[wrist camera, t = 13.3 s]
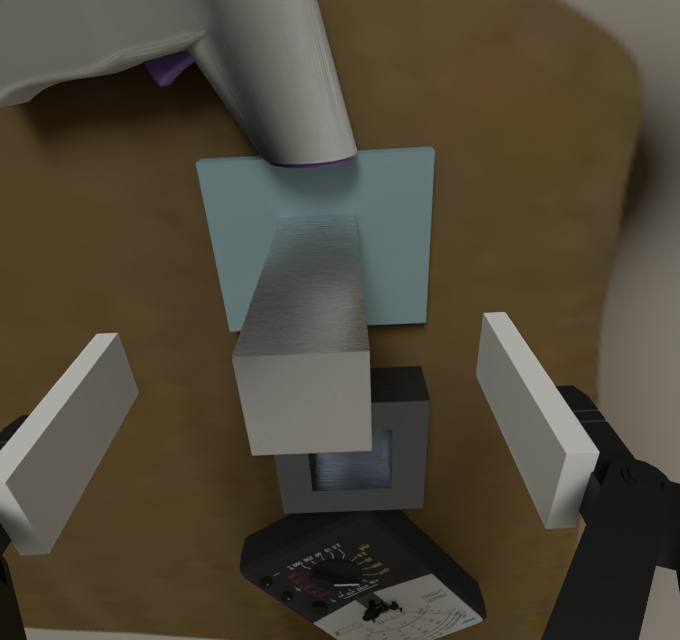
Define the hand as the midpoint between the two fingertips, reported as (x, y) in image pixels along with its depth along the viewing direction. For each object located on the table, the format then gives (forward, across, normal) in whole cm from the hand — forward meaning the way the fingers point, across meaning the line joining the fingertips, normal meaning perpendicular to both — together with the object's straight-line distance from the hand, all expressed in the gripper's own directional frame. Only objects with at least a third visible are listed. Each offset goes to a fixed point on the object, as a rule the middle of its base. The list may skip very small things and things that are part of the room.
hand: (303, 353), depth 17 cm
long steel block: (+10, 0, 0) cm, 10 cm away
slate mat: (+11, 0, 0) cm, 11 cm away
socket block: (+11, +2, -14) cm, 18 cm away
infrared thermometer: (+12, -6, +9) cm, 16 cm away
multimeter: (+12, +2, -31) cm, 33 cm away
